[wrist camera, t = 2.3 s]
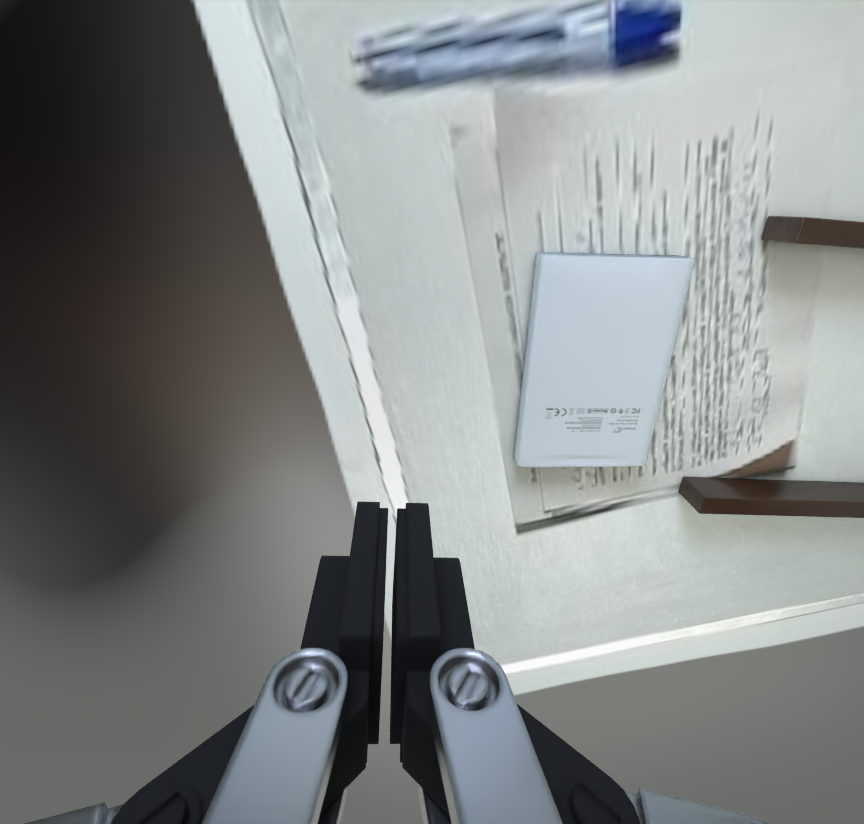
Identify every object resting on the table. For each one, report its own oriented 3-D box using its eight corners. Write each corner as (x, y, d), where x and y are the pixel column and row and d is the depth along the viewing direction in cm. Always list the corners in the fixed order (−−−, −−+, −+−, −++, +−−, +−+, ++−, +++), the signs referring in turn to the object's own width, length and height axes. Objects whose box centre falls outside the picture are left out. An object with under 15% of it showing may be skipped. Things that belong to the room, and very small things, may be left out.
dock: (767, 215, 26) (803, 217, 23) (1036, 238, 27) (1095, 241, 25) (678, 492, 33) (699, 513, 30) (895, 498, 34) (931, 519, 32)
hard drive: (681, 255, 26) (636, 455, 31) (534, 251, 26) (512, 456, 31) (698, 258, 25) (648, 468, 30) (542, 254, 24) (517, 468, 29)
